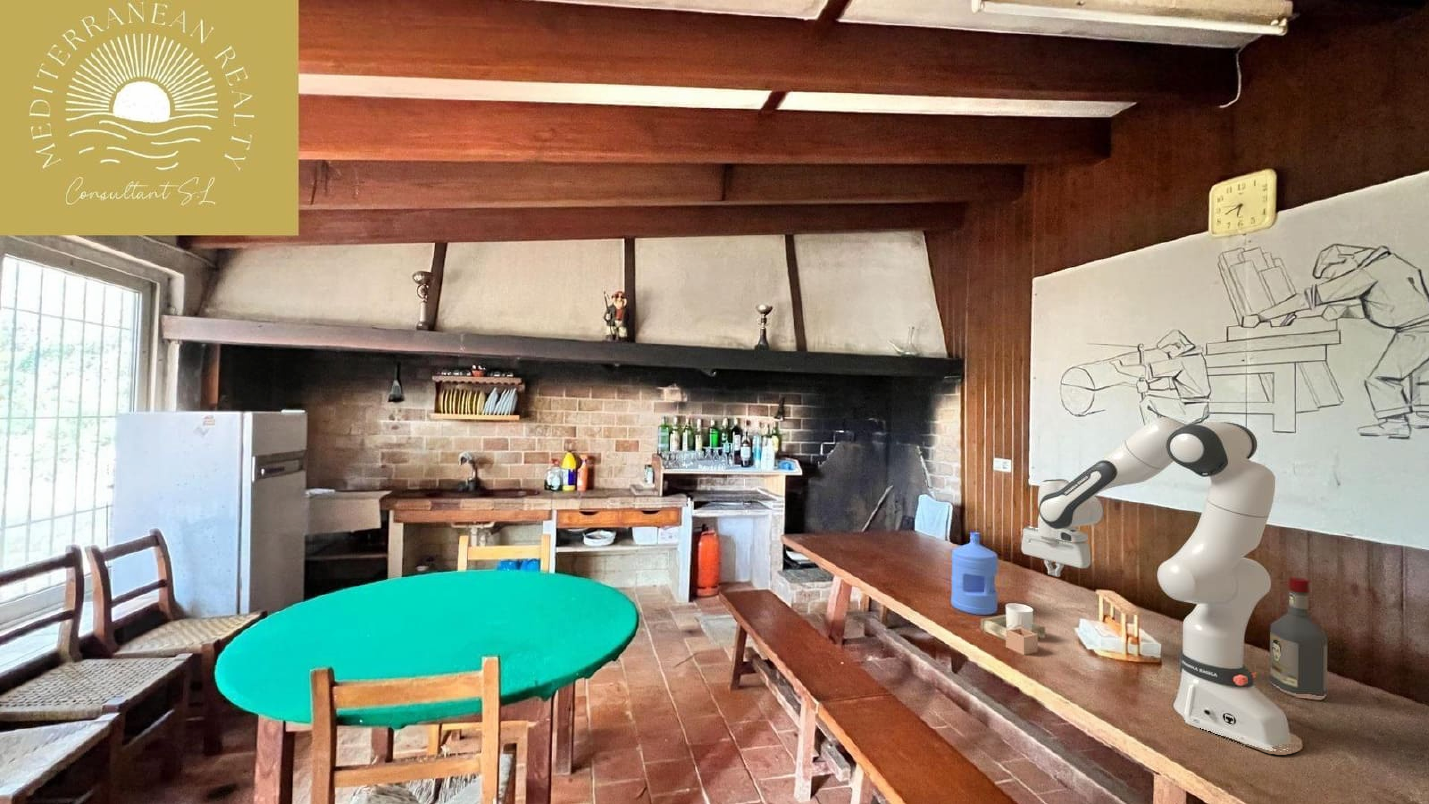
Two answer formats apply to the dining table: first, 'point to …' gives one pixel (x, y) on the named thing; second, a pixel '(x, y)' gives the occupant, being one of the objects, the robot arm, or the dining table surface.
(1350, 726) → the dining table surface
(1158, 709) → the dining table surface
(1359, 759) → the dining table surface
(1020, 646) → the open-top wooden box
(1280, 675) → the liquor
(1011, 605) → the white cup
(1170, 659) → the dining table surface
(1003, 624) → the birch bay
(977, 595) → the water jug
